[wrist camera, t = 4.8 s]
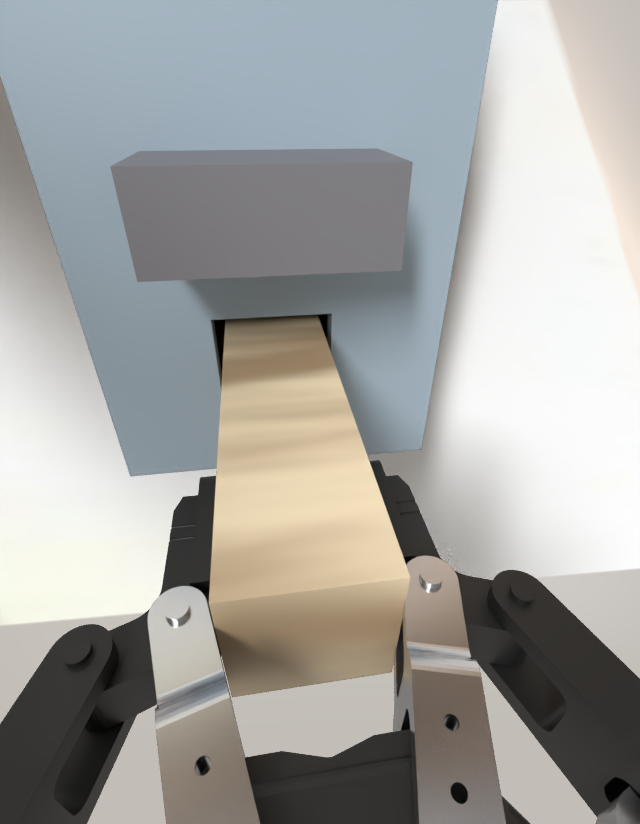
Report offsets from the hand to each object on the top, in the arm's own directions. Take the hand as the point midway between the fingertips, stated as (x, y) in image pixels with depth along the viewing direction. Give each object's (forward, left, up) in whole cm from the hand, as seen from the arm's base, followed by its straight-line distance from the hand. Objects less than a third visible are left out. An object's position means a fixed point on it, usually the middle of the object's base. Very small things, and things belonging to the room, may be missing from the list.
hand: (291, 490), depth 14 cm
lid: (-6, 0, -9) cm, 11 cm away
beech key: (0, 0, -11) cm, 11 cm away
